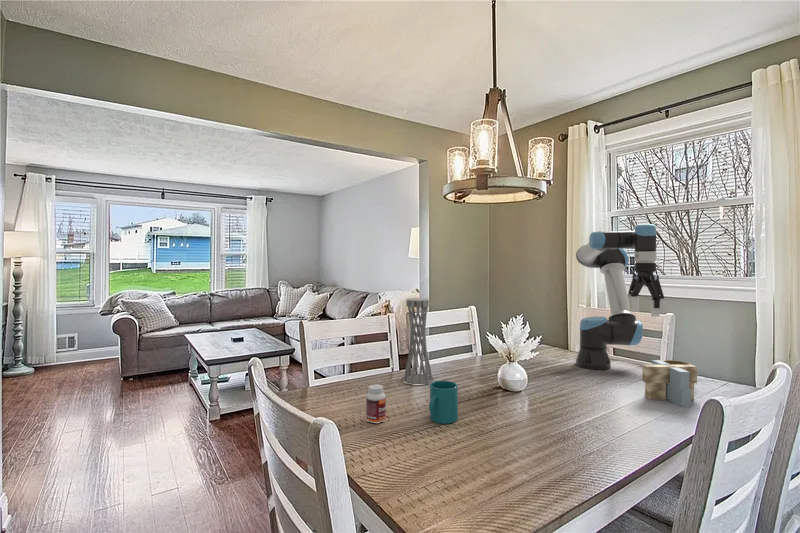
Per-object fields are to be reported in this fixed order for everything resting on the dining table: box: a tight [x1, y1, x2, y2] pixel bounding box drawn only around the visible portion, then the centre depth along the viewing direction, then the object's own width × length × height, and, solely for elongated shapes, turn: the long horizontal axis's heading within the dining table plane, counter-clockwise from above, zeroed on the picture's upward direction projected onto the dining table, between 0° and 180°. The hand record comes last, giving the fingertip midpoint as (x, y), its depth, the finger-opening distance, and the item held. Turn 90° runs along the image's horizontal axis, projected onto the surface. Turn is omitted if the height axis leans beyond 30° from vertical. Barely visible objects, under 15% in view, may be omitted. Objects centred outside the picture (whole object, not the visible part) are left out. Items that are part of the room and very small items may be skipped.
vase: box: [401, 297, 435, 385], centre depth 171 cm, size 14×13×35 cm
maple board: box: [641, 364, 698, 401], centre depth 148 cm, size 18×3×12 cm, turn 89°
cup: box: [428, 380, 459, 425], centre depth 129 cm, size 9×12×11 cm
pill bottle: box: [365, 384, 387, 422], centre depth 129 cm, size 6×6×11 cm
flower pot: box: [662, 359, 692, 365], centre depth 165 cm, size 9×9×9 cm
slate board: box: [651, 359, 692, 408], centre depth 148 cm, size 18×3×12 cm, turn 179°
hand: (645, 314), depth 164 cm, fingers open, 13 cm apart
